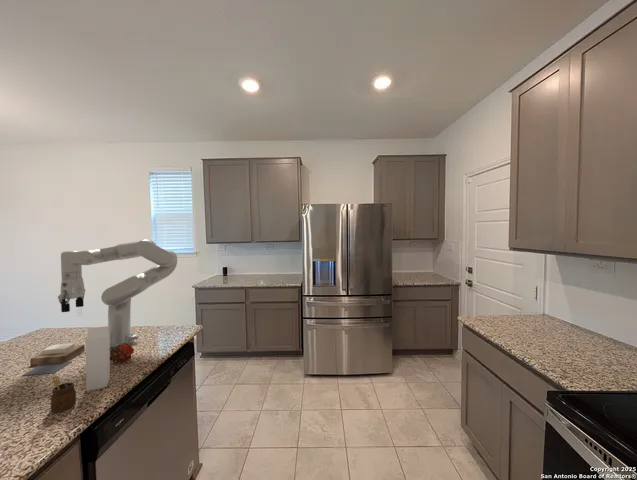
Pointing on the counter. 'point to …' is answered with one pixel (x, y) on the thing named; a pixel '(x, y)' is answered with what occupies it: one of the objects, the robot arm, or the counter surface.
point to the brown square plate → (57, 356)
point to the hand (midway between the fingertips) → (72, 309)
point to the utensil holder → (62, 395)
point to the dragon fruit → (121, 353)
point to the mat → (47, 368)
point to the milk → (97, 358)
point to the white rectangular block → (58, 349)
